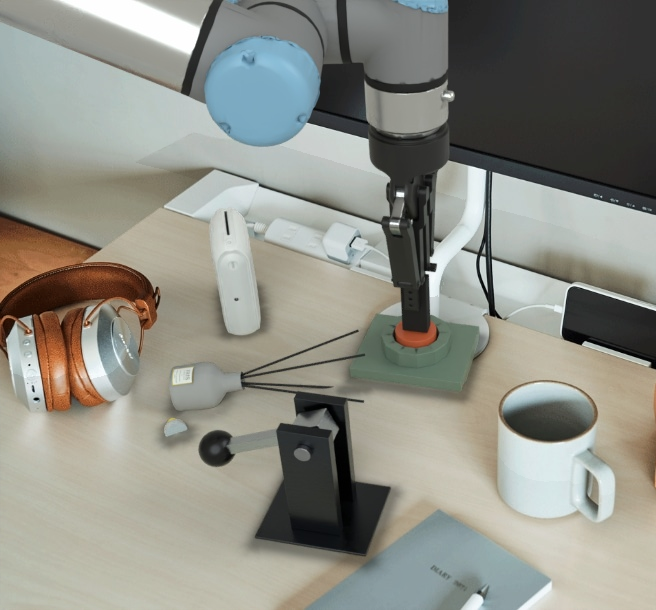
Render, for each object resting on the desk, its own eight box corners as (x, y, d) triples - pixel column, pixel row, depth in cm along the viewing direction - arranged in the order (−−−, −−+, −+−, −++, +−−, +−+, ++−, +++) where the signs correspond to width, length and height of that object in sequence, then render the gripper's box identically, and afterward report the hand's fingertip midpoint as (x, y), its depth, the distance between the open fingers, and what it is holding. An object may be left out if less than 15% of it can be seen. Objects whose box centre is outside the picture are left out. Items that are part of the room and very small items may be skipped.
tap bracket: (256, 545, 80) (235, 438, 73) (288, 479, 87) (272, 375, 79) (366, 564, 79) (356, 456, 71) (391, 495, 85) (384, 390, 78)
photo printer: (264, 334, 105) (250, 241, 98) (226, 340, 104) (208, 247, 97) (256, 285, 113) (242, 196, 106) (220, 290, 112) (204, 200, 105)
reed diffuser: (163, 339, 94) (359, 315, 94) (185, 370, 99) (369, 347, 100) (157, 432, 88) (364, 406, 89) (180, 458, 94) (374, 434, 95)
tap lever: (204, 477, 80) (185, 450, 79) (219, 451, 83) (201, 425, 81) (331, 454, 75) (313, 426, 74) (343, 428, 78) (326, 400, 76)
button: (391, 354, 98) (390, 338, 97) (401, 329, 102) (401, 314, 101) (431, 359, 98) (431, 344, 97) (440, 334, 101) (440, 319, 100)
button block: (350, 384, 98) (348, 354, 96) (377, 328, 106) (375, 300, 104) (461, 399, 96) (460, 369, 94) (479, 341, 104) (479, 313, 102)
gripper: (431, 157, 79) (436, 369, 93) (462, 98, 89) (463, 297, 103) (347, 149, 80) (365, 360, 94) (388, 91, 91) (398, 289, 104)
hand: (416, 327), depth 98 cm, fingers closed
